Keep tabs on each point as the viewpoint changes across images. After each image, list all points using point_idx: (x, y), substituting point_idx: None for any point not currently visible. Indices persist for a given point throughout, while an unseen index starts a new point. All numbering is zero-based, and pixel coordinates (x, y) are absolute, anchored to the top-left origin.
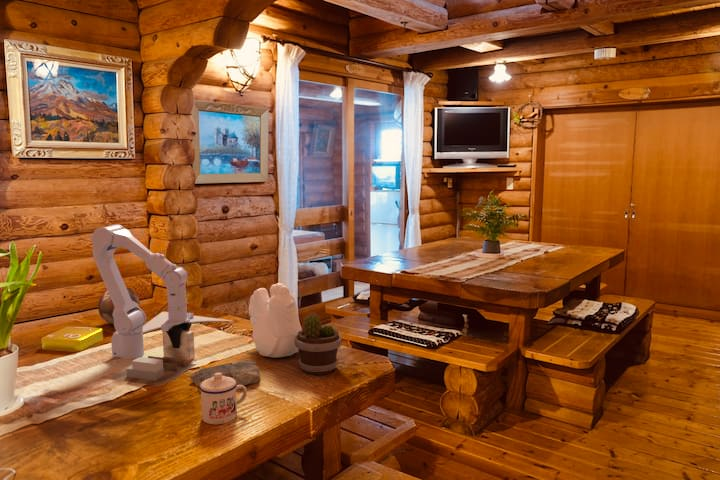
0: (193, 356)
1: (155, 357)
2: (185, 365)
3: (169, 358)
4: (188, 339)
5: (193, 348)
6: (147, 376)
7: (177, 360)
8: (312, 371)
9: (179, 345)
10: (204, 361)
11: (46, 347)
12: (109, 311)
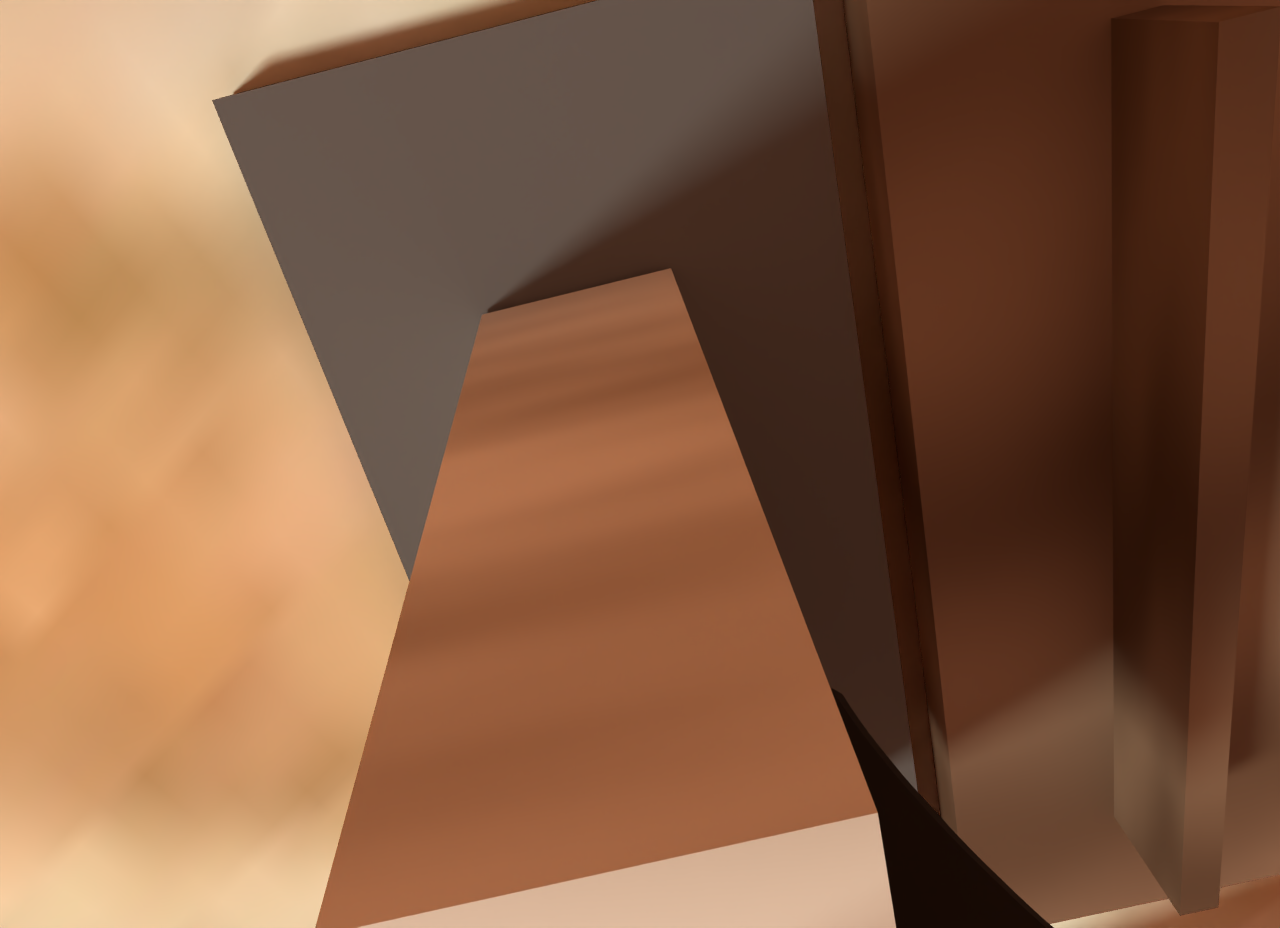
0: (531, 320)
1: (1227, 774)
2: (1043, 59)
3: (1204, 499)
4: (788, 609)
5: (502, 409)
6: None
7: (1265, 216)
8: None
9: None
10: (396, 15)
11: None
12: None
